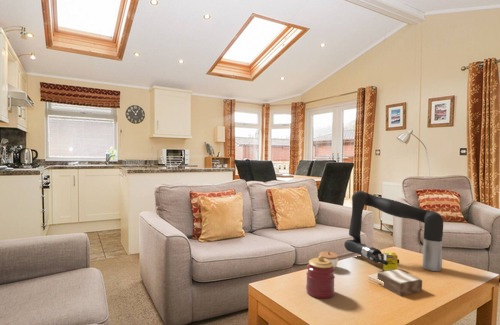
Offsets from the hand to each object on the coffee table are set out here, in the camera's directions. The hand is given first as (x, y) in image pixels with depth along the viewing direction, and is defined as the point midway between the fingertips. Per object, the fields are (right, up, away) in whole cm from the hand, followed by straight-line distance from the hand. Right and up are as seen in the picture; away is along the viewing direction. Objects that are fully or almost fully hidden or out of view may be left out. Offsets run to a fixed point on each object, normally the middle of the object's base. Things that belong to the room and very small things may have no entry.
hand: (393, 262), depth 165 cm
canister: (-46, -6, -25) cm, 53 cm away
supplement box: (-1, -7, +2) cm, 7 cm away
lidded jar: (-34, -6, +7) cm, 35 cm away
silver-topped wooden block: (-5, -7, -17) cm, 19 cm away
